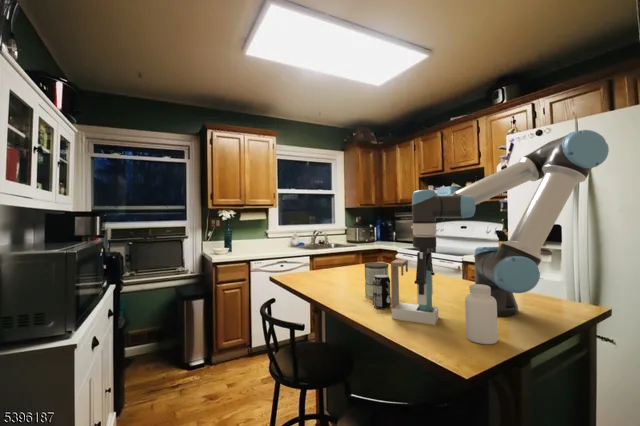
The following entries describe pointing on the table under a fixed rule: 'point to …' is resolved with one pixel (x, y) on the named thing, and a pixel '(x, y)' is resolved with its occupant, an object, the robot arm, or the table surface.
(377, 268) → the coffee can
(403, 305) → the station
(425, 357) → the table surface
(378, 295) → the beverage can
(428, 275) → the peg
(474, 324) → the pill bottle
